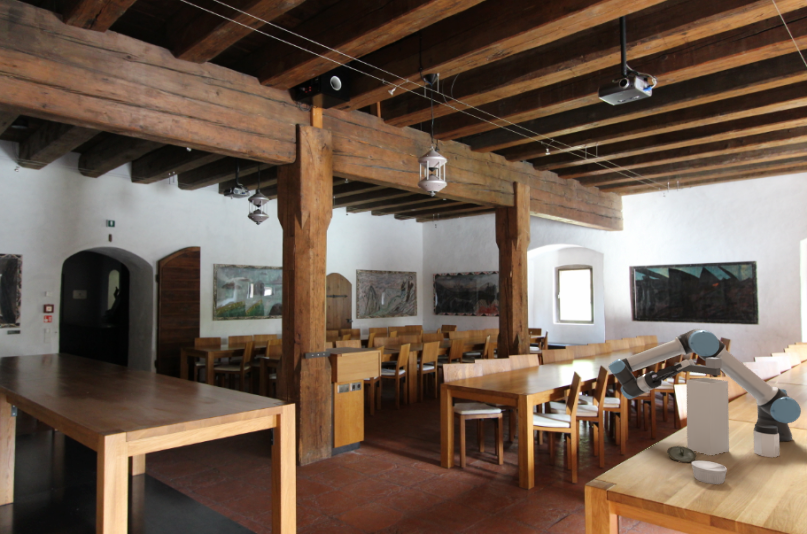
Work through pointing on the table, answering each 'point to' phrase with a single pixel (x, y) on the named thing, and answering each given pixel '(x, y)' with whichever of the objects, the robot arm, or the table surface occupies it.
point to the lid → (681, 454)
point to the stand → (707, 416)
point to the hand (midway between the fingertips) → (690, 361)
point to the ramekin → (709, 472)
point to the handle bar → (706, 367)
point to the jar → (766, 440)
